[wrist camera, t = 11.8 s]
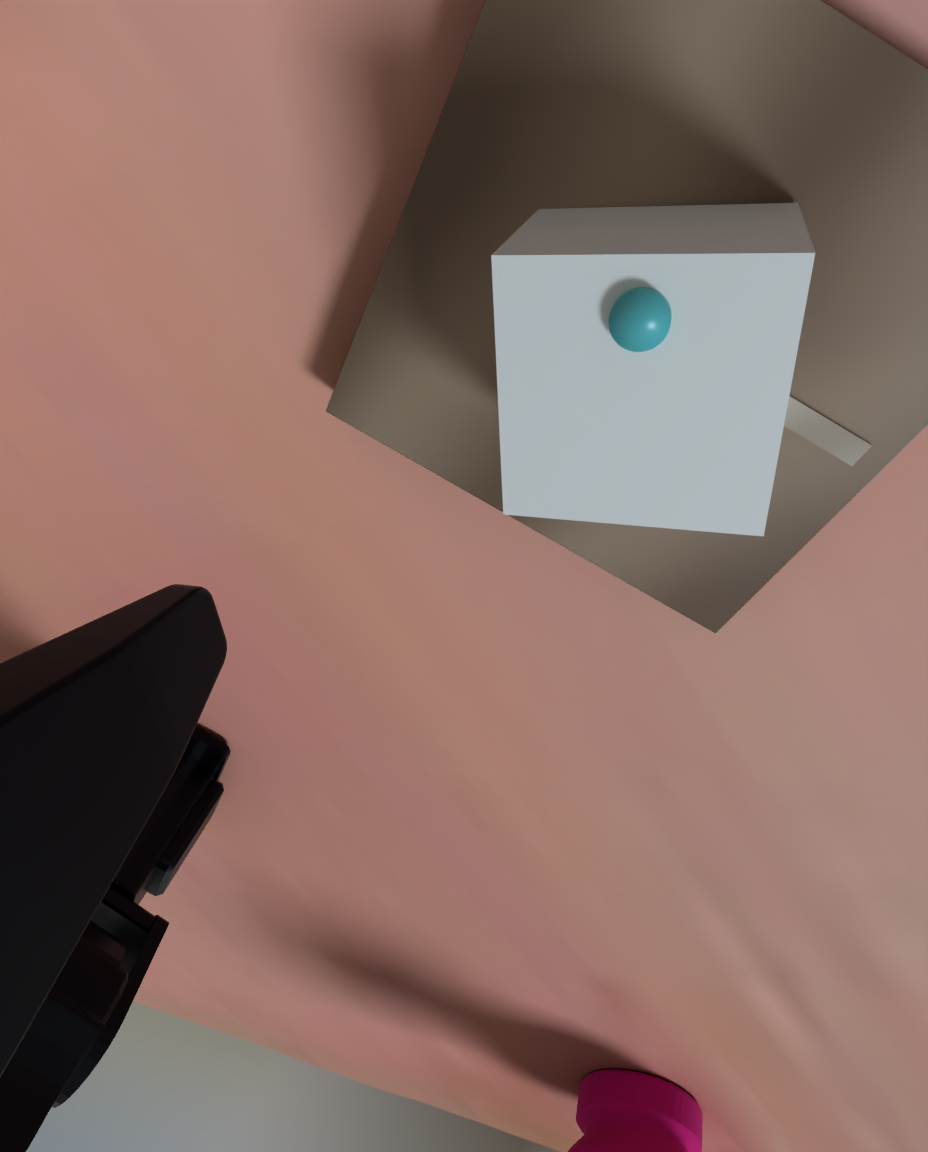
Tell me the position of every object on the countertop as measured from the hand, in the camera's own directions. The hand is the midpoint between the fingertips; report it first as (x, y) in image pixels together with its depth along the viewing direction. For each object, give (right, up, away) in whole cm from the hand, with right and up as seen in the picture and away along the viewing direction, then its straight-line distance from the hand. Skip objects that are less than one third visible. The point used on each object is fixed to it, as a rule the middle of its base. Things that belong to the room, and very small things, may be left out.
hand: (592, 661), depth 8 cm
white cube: (+3, +6, +9) cm, 11 cm away
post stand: (+3, +7, +9) cm, 12 cm away
